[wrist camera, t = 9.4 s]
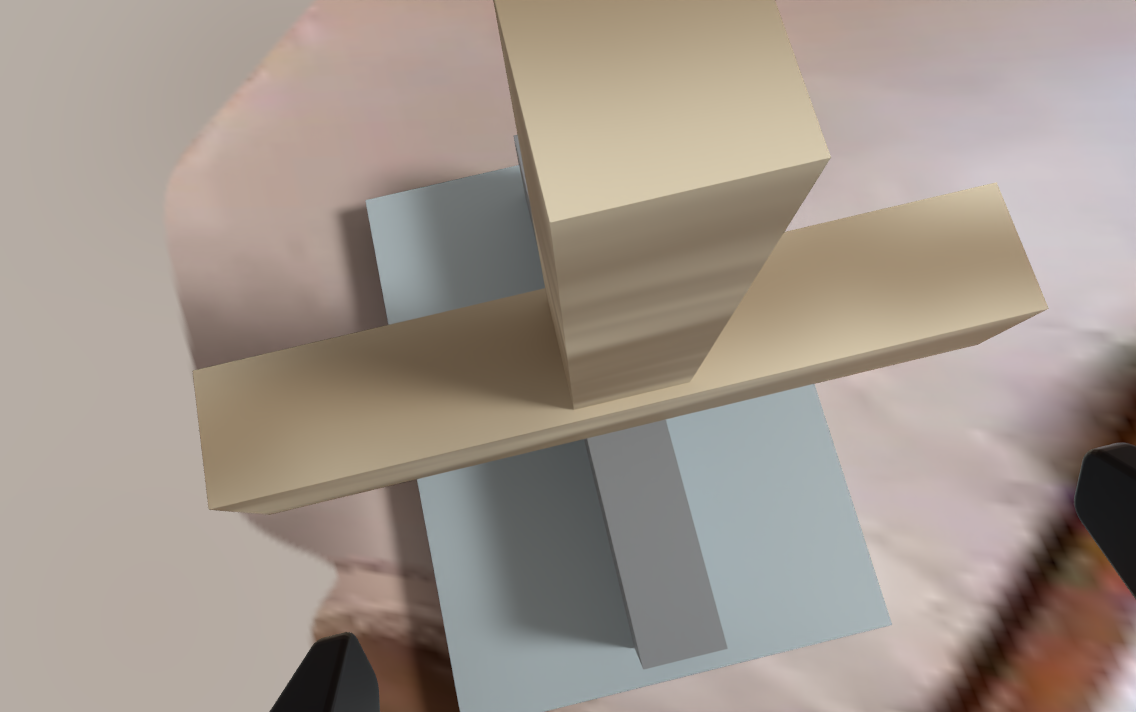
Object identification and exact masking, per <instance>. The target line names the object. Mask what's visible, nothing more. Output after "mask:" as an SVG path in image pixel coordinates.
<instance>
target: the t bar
mask: <svg viewBox="0 0 1136 712" xmlns="http://www.w3.org/2000/svg"><path fill="white" fill-rule="evenodd" d="M493 1H494V7H495V12H496V18H497V23H498V29H499V34H500V40H501V46H502V51H503V57H504V62H505V68H506V73H507V79H508V84H509V90H510V95H511V101H512V107H513V112H514V118H515V123H516V129H517V134H518V140H519V145H520V151H521V157H522V162H523V168H524V173H525V179H526V184H527V190H528V195H529V201H530V206H531V212H532V218H533V223H534V229H535V234H536V240H537V245H538V251H539V256H540V262H541V267H542V273H543V279H544V284H545V288H544V289H539V290H535V291H531V292H527V293H522V294H518V295H514V296H510V297H505V298H501V299H497V300H492V301H488V302H484V303H480V304H475V305H471V306H467V307H463V308H458V309H454V310H450V311H445V312H441V313H437V314H433V315H428V316H424V317H420V318H416V319H411V320H407V321H403V322H399V323H394V324H390V325H386V326H381V327H377V328H373V329H369V330H364V331H360V332H356V333H352V334H347V335H343V336H339V337H334V338H330V339H326V340H322V341H317V342H313V343H309V344H305V345H300V346H296V347H292V348H288V349H283V350H279V351H275V352H270V353H266V354H262V355H258V356H253V357H249V358H245V359H241V360H236V361H232V362H228V363H223V364H219V365H215V366H211V367H206V368H202V369H198V370H194V371H193V379H194V388H195V396H196V405H197V413H198V422H199V430H200V439H201V448H202V456H203V464H204V473H205V482H206V490H207V499H208V507H209V510H220V511H231V512H244V513H256V514H268V515H270V514H274V513H278V512H283V511H287V510H291V509H295V508H299V507H303V506H308V505H312V504H316V503H320V502H324V501H328V500H332V499H337V498H341V497H345V496H349V495H353V494H357V493H362V492H366V491H370V490H374V489H378V488H382V487H387V486H391V485H395V484H399V483H403V482H407V481H412V480H416V479H420V478H424V477H428V476H432V475H437V474H441V473H445V472H449V471H453V470H457V469H462V468H466V467H470V466H474V465H478V464H482V463H487V462H491V461H495V460H499V459H503V458H507V457H512V456H516V455H520V454H524V453H528V452H532V451H537V450H541V449H545V448H549V447H553V446H557V445H561V444H566V443H570V442H574V441H578V440H582V439H586V438H591V437H595V436H599V435H603V434H607V433H611V432H616V431H620V430H624V429H628V428H632V427H636V426H641V425H645V424H649V423H653V422H657V421H661V420H666V419H670V418H674V417H678V416H682V415H686V414H691V413H695V412H699V411H703V410H707V409H711V408H716V407H720V406H724V405H728V404H732V403H736V402H741V401H745V400H749V399H753V398H757V397H761V396H766V395H770V394H774V393H778V392H782V391H786V390H790V389H795V388H799V387H803V386H807V385H811V384H815V383H820V382H824V381H828V380H832V379H836V378H840V377H845V376H849V375H853V374H857V373H861V372H865V371H870V370H874V369H878V368H882V367H886V366H890V365H895V364H899V363H903V362H907V361H911V360H915V359H920V358H924V357H928V356H932V355H936V354H940V353H945V352H949V351H953V350H957V349H961V348H965V347H970V346H974V345H978V344H980V343H982V342H984V341H986V340H988V339H990V338H992V337H994V336H995V335H997V334H999V333H1001V332H1003V331H1005V330H1007V329H1009V328H1011V327H1013V326H1015V325H1017V324H1019V323H1021V322H1023V321H1025V320H1027V319H1029V318H1031V317H1033V316H1035V315H1037V314H1039V313H1041V312H1043V311H1045V310H1047V309H1049V308H1048V306H1047V304H1046V301H1045V299H1044V296H1043V294H1042V291H1041V289H1040V287H1039V284H1038V282H1037V279H1036V277H1035V274H1034V272H1033V270H1032V267H1031V265H1030V262H1029V260H1028V257H1027V255H1026V253H1025V250H1024V248H1023V245H1022V243H1021V241H1020V238H1019V236H1018V233H1017V231H1016V228H1015V226H1014V224H1013V221H1012V219H1011V216H1010V214H1009V211H1008V209H1007V207H1006V204H1005V202H1004V199H1003V197H1002V194H1001V192H1000V190H999V187H998V185H997V182H996V183H992V184H988V185H983V186H979V187H975V188H971V189H966V190H962V191H958V192H954V193H949V194H945V195H941V196H936V197H932V198H928V199H924V200H919V201H915V202H911V203H907V204H902V205H898V206H894V207H890V208H885V209H881V210H877V211H872V212H868V213H864V214H860V215H855V216H851V217H847V218H843V219H838V220H834V221H830V222H825V223H821V224H817V225H813V226H808V227H804V228H800V229H796V230H791V231H787V232H785V230H786V228H787V227H788V225H789V224H790V222H791V220H792V219H793V217H794V216H795V214H796V212H797V211H798V209H799V208H800V206H801V204H802V203H803V201H804V200H805V198H806V196H807V195H808V193H809V192H810V190H811V189H812V187H813V185H814V184H815V182H816V181H817V179H818V177H819V176H820V174H821V173H822V171H823V169H824V168H825V166H826V165H827V163H828V161H829V160H830V158H831V156H830V153H829V151H828V148H827V145H826V142H825V139H824V137H823V134H822V131H821V128H820V125H819V123H818V120H817V117H816V114H815V111H814V109H813V106H812V103H811V100H810V97H809V94H808V92H807V89H806V86H805V83H804V80H803V78H802V75H801V72H800V69H799V66H798V64H797V61H796V58H795V55H794V52H793V50H792V47H791V44H790V41H789V38H788V36H787V33H786V30H785V27H784V24H783V22H782V19H781V16H780V13H779V10H778V8H777V5H776V2H775V0H493Z"/></svg>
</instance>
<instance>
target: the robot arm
mask: <svg viewBox="0 0 1136 712" xmlns="http://www.w3.org/2000/svg"><path fill="white" fill-rule="evenodd" d="M1074 504H1075V509H1076V512H1077V515H1078V517H1079V519H1080V520H1081V522H1082V523H1083V525H1084V526H1085V528H1086V529H1087V531H1088V532H1089V533H1090V535H1091V536H1092V538H1093V539H1094V541H1095V542H1096V543H1097V545H1098V546H1099V548H1100V549H1101V551H1102V552H1103V553H1104V555H1105V556H1106V558H1107V559H1108V561H1109V562H1110V563H1111V565H1112V566H1113V568H1114V569H1115V570H1116V572H1117V573H1118V575H1119V576H1120V578H1121V579H1122V580H1123V582H1124V583H1125V585H1126V586H1127V588H1128V589H1129V590H1130V592H1131V593H1132V595H1133V596H1134V598H1135V599H1136V446H1134V445H1131V444H1127V443H1116V444H1111V445H1107V446H1103V447H1099V448H1095V449H1092V450H1090V451H1088V452H1087V453H1086V454H1085V456H1084V458H1083V461H1082V465H1081V470H1080V474H1079V479H1078V483H1077V488H1076V492H1075V497H1074ZM270 712H380V706H379V689H378V683H377V678H376V675H375V673H374V671H373V669H372V667H371V665H370V663H369V661H368V659H367V657H366V655H365V653H364V651H363V649H362V647H361V645H360V643H359V641H358V639H357V638H356V636H355V635H354V634H352V633H350V632H345V633H341V634H337V635H333V636H329V637H324V638H321V639H319V640H318V641H317V642H315V643H314V644H313V646H312V647H311V649H310V650H309V652H308V653H307V655H306V657H305V658H304V660H303V661H302V663H301V664H300V666H299V667H298V669H297V670H296V672H295V673H294V675H293V677H292V678H291V680H290V681H289V683H288V684H287V686H286V687H285V689H284V690H283V692H282V693H281V695H280V697H279V698H278V700H277V701H276V703H275V704H274V706H273V707H272V709H271V710H270Z"/></svg>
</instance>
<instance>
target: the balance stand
mask: <svg viewBox="0 0 1136 712" xmlns="http://www.w3.org/2000/svg"><path fill="white" fill-rule="evenodd" d="M514 141H515V146H516V151H517V157H518V162H519V165H518V166H513V167H509V168H504V169H500V170H496V171H491V172H487V173H483V174H478V175H474V176H469V177H465V178H461V179H456V180H452V181H448V182H443V183H439V184H435V185H430V186H426V187H421V188H417V189H413V190H408V191H404V192H400V193H395V194H391V195H386V196H382V197H378V198H373V199H369V200H366V206H367V211H368V217H369V222H370V227H371V233H372V238H373V244H374V249H375V254H376V260H377V265H378V271H379V276H380V282H381V287H382V292H383V298H384V303H385V309H386V314H387V319H388V325H390V324H394V323H399V322H403V321H407V320H411V319H416V318H420V317H424V316H428V315H433V314H437V313H441V312H445V311H450V310H454V309H458V308H463V307H467V306H471V305H475V304H480V303H484V302H488V301H492V300H497V299H501V298H505V297H510V296H514V295H518V294H522V293H527V292H531V291H535V290H539V289H544V288H545V284H544V279H543V273H542V267H541V262H540V256H539V251H538V245H537V240H536V234H535V229H534V223H533V218H532V212H531V206H530V201H529V195H528V190H527V184H526V179H525V173H524V168H523V162H522V157H521V151H520V145H519V140H518V135H514ZM417 482H418V487H419V492H420V498H421V503H422V509H423V514H424V520H425V525H426V530H427V536H428V541H429V547H430V552H431V557H432V563H433V568H434V574H435V579H436V584H437V590H438V595H439V601H440V606H441V611H442V617H443V622H444V628H445V633H446V639H447V644H448V649H449V655H450V660H451V666H452V671H453V676H454V682H455V687H456V693H457V698H458V703H459V709H460V712H545V711H549V710H553V709H557V708H561V707H565V706H569V705H573V704H577V703H581V702H585V701H589V700H593V699H597V698H601V697H605V696H609V695H613V694H617V693H621V692H625V691H629V690H633V689H637V688H641V687H645V686H649V685H653V684H657V683H661V682H665V681H669V680H673V679H677V678H681V677H685V676H689V675H693V674H697V673H701V672H705V671H709V670H713V669H717V668H721V667H725V666H729V665H733V664H737V663H741V662H745V661H749V660H753V659H757V658H761V657H765V656H769V655H773V654H777V653H781V652H785V651H789V650H793V649H797V648H801V647H805V646H809V645H813V644H817V643H821V642H825V641H829V640H833V639H837V638H841V637H845V636H849V635H853V634H857V633H861V632H865V631H869V630H873V629H877V628H881V627H886V626H890V625H892V623H891V620H890V617H889V613H888V610H887V607H886V604H885V601H884V598H883V595H882V592H881V589H880V586H879V583H878V579H877V576H876V573H875V570H874V567H873V564H872V561H871V558H870V555H869V552H868V549H867V545H866V542H865V539H864V536H863V533H862V530H861V527H860V524H859V521H858V518H857V515H856V511H855V508H854V505H853V502H852V499H851V496H850V493H849V490H848V487H847V484H846V480H845V477H844V474H843V471H842V468H841V465H840V462H839V459H838V456H837V453H836V450H835V446H834V443H833V440H832V437H831V434H830V431H829V428H828V425H827V422H826V419H825V416H824V412H823V409H822V406H821V403H820V400H819V397H818V394H817V391H816V388H815V385H814V384H811V385H807V386H803V387H799V388H795V389H790V390H786V391H782V392H778V393H774V394H770V395H766V396H761V397H757V398H753V399H749V400H745V401H741V402H736V403H732V404H728V405H724V406H720V407H716V408H711V409H707V410H703V411H699V412H695V413H691V414H686V415H682V416H678V417H674V418H670V419H666V420H661V421H657V422H653V423H649V424H645V425H641V426H636V427H632V428H628V429H624V430H620V431H616V432H611V433H607V434H603V435H599V436H595V437H591V438H586V439H582V440H578V441H574V442H570V443H566V444H561V445H557V446H553V447H549V448H545V449H541V450H537V451H532V452H528V453H524V454H520V455H516V456H512V457H507V458H503V459H499V460H495V461H491V462H487V463H482V464H478V465H474V466H470V467H466V468H462V469H457V470H453V471H449V472H445V473H441V474H437V475H432V476H428V477H424V478H420V479H417Z"/></svg>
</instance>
